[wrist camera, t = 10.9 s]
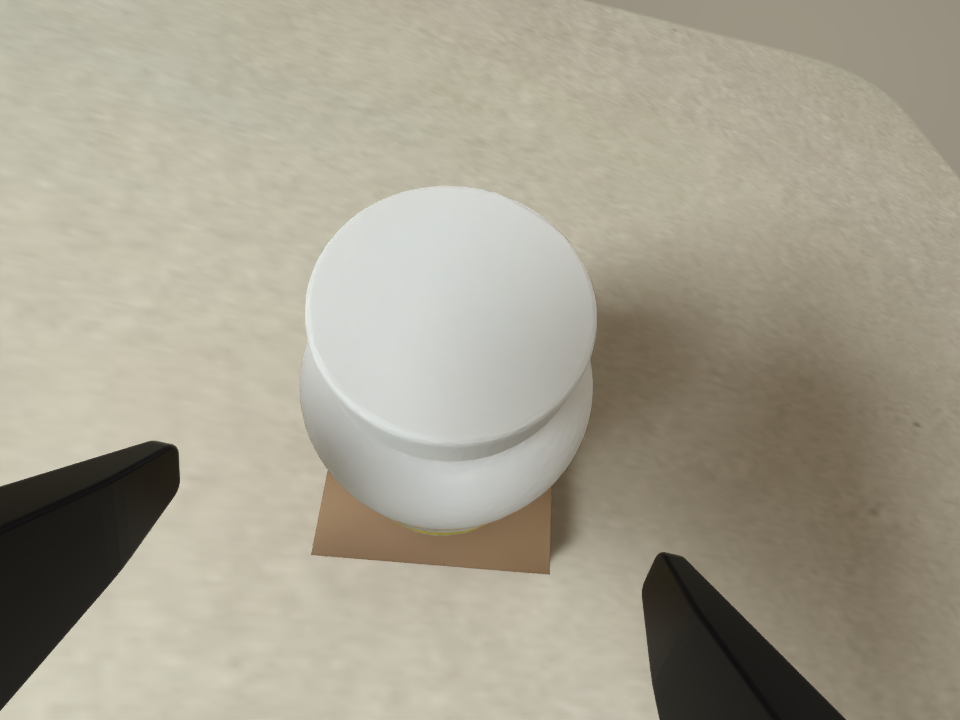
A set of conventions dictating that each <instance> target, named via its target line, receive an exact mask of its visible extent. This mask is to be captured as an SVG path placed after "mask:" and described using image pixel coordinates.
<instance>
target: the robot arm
mask: <svg viewBox="0 0 960 720" xmlns="http://www.w3.org/2000/svg"><path fill="white" fill-rule="evenodd" d="M179 484H180V472H179V452H178V449H177V447H176V446H175V445H173V444H168V443H164V442H159V441H148V442H145V443H142V444H138V445H135V446H132V447H129V448H125V449H122V450H119V451H115V452H112V453H109V454H106V455H102V456H99V457H96V458H92V459H89V460H86V461H83V462H79V463H76V464H73V465H70V466H66V467H63V468H60V469H56V470H53V471H50V472H47V473H43V474H40V475H37V476H33V477H30V478H27V479H24V480H20V481H17V482H14V483H10V484H7V485H4V486H1V487H0V711H1V710H2V708H3V707H4V706H5V705H6V704H7V703H8V701H9V700H10V699H11V698H12V697H13V696H14V694H15V693H16V692H17V691H18V690H19V689H20V688H21V686H22V685H23V684H24V683H25V682H26V681H27V679H28V678H29V677H30V676H31V675H32V674H33V672H34V671H35V670H36V669H37V668H38V667H39V665H40V664H41V663H42V662H43V661H44V660H45V659H46V657H47V656H48V655H49V654H50V653H51V652H52V650H53V649H54V648H55V647H56V646H57V645H58V643H59V642H60V641H61V640H62V639H63V638H64V636H65V635H66V634H67V633H68V632H69V631H70V630H71V628H72V627H73V626H74V625H75V624H76V623H77V621H78V620H79V619H80V618H81V617H82V616H83V614H84V613H85V612H86V611H87V610H88V609H89V607H90V606H91V605H92V604H93V603H94V602H95V601H96V599H97V598H98V597H99V596H100V595H101V594H102V592H103V591H104V590H105V589H106V588H107V587H108V585H109V584H110V583H111V582H112V581H113V580H114V578H115V577H116V576H117V575H118V573H119V572H120V571H121V570H122V569H123V567H124V566H125V565H126V563H127V562H128V561H129V559H130V558H131V557H132V555H133V554H134V552H135V551H136V550H137V548H138V547H139V545H140V544H141V543H142V541H143V540H144V538H145V537H146V536H147V534H148V533H149V531H150V530H151V528H152V527H153V526H154V524H155V523H156V521H157V520H158V519H159V517H160V516H161V514H162V513H163V512H164V510H165V509H166V507H167V506H168V505H169V503H170V502H171V500H172V499H173V497H174V496H175V494H176V493H177V490H178V488H179ZM642 601H643V610H644V619H645V627H646V636H647V645H648V654H649V662H650V671H651V678H652V685H653V690H654V695H655V700H656V705H657V710H658V714H659V719H660V720H846V719H845V718H844V717H843V716H842V715H841V714H840V713H839V712H838V711H837V710H836V709H835V708H834V707H833V706H832V705H831V704H830V703H829V702H828V701H827V700H826V699H825V698H824V697H823V696H822V695H821V694H820V693H819V692H818V691H817V690H816V689H815V688H814V687H813V686H812V685H811V684H810V683H809V682H808V681H807V680H806V679H805V678H804V677H803V676H802V675H801V674H800V673H799V672H798V671H797V670H796V669H795V668H794V667H793V666H792V665H791V664H790V663H789V662H788V661H787V660H786V659H785V658H784V657H783V656H782V655H781V654H780V653H779V652H778V651H777V650H776V649H775V648H774V647H773V646H772V645H771V644H770V643H769V642H768V641H767V640H766V639H765V638H764V637H763V636H762V635H761V634H760V633H759V632H758V631H757V630H756V629H755V628H754V627H753V626H752V625H751V624H750V623H749V622H748V621H747V620H746V619H745V618H744V617H743V616H742V615H741V614H740V613H739V612H738V611H737V610H736V609H735V608H734V607H733V606H732V605H731V604H730V603H729V602H728V601H727V600H726V599H725V598H724V597H723V596H722V595H721V594H720V593H719V592H718V591H717V590H716V589H715V588H714V587H713V586H712V585H711V584H710V583H709V582H708V581H707V580H706V579H705V578H704V577H703V576H702V575H701V574H700V573H699V572H698V571H697V570H696V569H695V568H694V567H693V566H692V565H691V564H690V563H689V562H688V561H687V560H686V559H685V558H684V557H682V556H679V555H675V554H670V553H665V552H661V553H659V554H658V555H657V556H656V558H655V560H654V562H653V564H652V566H651V569H650V571H649V573H648V575H647V577H646V579H645V581H644V584H643V588H642Z"/></svg>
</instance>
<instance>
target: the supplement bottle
mask: <svg viewBox="0 0 960 720" xmlns="http://www.w3.org/2000/svg"><path fill="white" fill-rule="evenodd" d="M305 325H306V331H307V336H308V343H307V346H306V349H305V353H304V357H303V361H302V366H301V376H300V402H301V408H302V413H303V417H304V422H305V426H306V429H307V432H308V435H309V438H310V440H311V442H312V444H313V446H314V448H315V450H316V452H317V453H318V455H319V457H320V459H321V460H322V462H323V463H324V465H325V467H326V468H327V469H328V471H329V472H330V473H331V475H332V476H333V477H334V478H335V480H336V481H337V482H338V483H339V484H340V485H341V486H342V487H343V488H344V489H345V490H346V491H347V492H348V493H349V494H351V495H352V496H353V497H354V498H356V499H357V500H358V501H360V502H361V503H362V504H364V505H366V506H367V507H369V508H370V509H372V510H374V511H376V512H377V513H379V514H381V515H383V516H385V517H387V518H388V519H390V520H392V521H394V522H395V523H397V524H399V525H401V526H403V527H405V528H408V529H410V530H412V531H415V532H419V533H422V534H427V535H434V536H450V535H458V534H463V533H466V532H470V531H473V530H476V529H478V528H480V527H482V526H485V525H487V524H489V523H492V522H494V521H497V520H500V519H502V518H504V517H506V516H508V515H510V514H512V513H514V512H516V511H518V510H520V509H522V508H523V507H525V506H527V505H528V504H530V503H531V502H532V501H534V500H535V499H537V498H538V497H540V496H541V495H542V494H543V493H544V492H546V491H547V490H548V489H549V488H550V487H551V486H552V485H553V484H554V483H555V482H556V481H557V479H558V478H559V477H560V476H561V475H562V473H563V472H564V471H565V470H566V469H567V467H568V466H569V464H570V463H571V461H572V460H573V458H574V456H575V454H576V452H577V450H578V448H579V446H580V444H581V442H582V440H583V437H584V434H585V432H586V429H587V425H588V422H589V417H590V412H591V407H592V396H593V376H592V367H591V362H590V358H591V356H592V352H593V347H594V343H595V340H596V332H597V306H596V299H595V295H594V291H593V287H592V282H591V280H590V277H589V275H588V272H587V270H586V268H585V265H584V263H583V261H582V260H581V258H580V256H579V255H578V253H577V251H576V250H575V249H574V247H573V246H572V245H571V243H570V242H569V241H568V240H567V238H566V237H565V236H564V235H563V234H562V233H561V232H560V231H559V230H558V229H557V228H556V227H555V226H554V225H552V224H551V223H550V222H549V221H548V220H546V219H545V218H544V217H542V216H541V215H539V214H538V213H536V212H535V211H533V210H532V209H530V208H528V207H527V206H525V205H523V204H522V203H520V202H518V201H515V200H513V199H511V198H509V197H506V196H503V195H501V194H498V193H494V192H491V191H488V190H483V189H478V188H472V187H464V186H433V187H425V188H418V189H413V190H408V191H404V192H401V193H398V194H395V195H392V196H390V197H387V198H385V199H383V200H380V201H378V202H376V203H374V204H372V205H370V206H369V207H367V208H366V209H364V210H362V211H361V212H359V213H358V214H357V215H355V216H354V217H353V218H352V219H350V220H349V221H348V222H347V223H346V224H345V225H344V226H343V227H342V228H341V229H340V230H339V231H338V232H337V233H336V234H335V235H334V236H333V238H332V239H331V240H330V241H329V243H328V244H327V245H326V247H325V249H324V250H323V252H322V253H321V255H320V256H319V258H318V261H317V263H316V265H315V267H314V269H313V272H312V275H311V278H310V281H309V285H308V289H307V294H306V307H305Z"/></svg>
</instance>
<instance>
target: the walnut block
mask: <svg viewBox="0 0 960 720" xmlns="http://www.w3.org/2000/svg"><path fill="white" fill-rule="evenodd" d="M551 490H552V486H551V487H550V488H549V489H548V490H547V491H546V492H544V493H543V494H542V495H541V496H540V497H538V498H537V499H535V500H534V501H532V502H531V503H530V504H528V505H527V506H525V507H523V508H522V509H520V510H518V511H516V512H514V513H512V514H510V515H508V516H506V517H504V518H502V519H500V520H497V521H494V522H492V523H489V524H487V525H485V526H482V527H480V528H478V529H476V530H473V531H470V532H466V533H463V534H458V535H450V536H434V535H427V534H422V533H419V532H415V531H412V530H410V529H408V528H405V527H403V526H401V525H399V524H397V523H395V522H394V521H392V520H390V519H388V518H387V517H385V516H383V515H381V514H379V513H377V512H376V511H374V510H372V509H370V508H369V507H367V506H366V505H364V504H362V503H361V502H360V501H358V500H357V499H356V498H354V497H353V496H352V495H351V494H349V493H348V492H347V491H346V490H345V489H344V488H343V487H342V486H341V485H340V484H339V483H338V482H337V481H336V480H335V478H334V477H333V476H332V475H331V473H330V472H329V471H328V472H327V477H326V482H325V487H324V492H323V497H322V502H321V507H320V512H319V518H318V523H317V528H316V533H315V538H314V543H313V548H312V553H311V555H319V556H331V557H343V558H355V559H367V560H380V561H392V562H404V563H416V564H428V565H440V566H453V567H465V568H477V569H489V570H501V571H513V572H526V573H538V574H550V538H551Z"/></svg>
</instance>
